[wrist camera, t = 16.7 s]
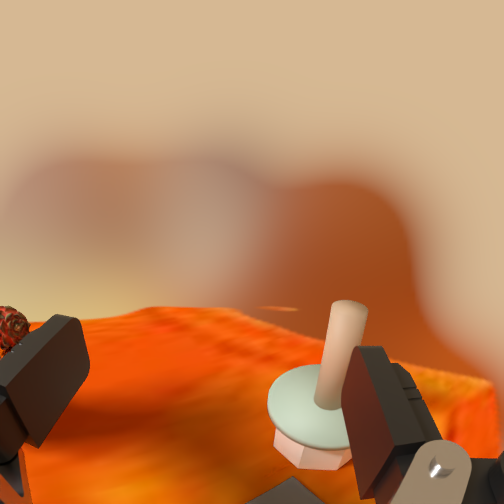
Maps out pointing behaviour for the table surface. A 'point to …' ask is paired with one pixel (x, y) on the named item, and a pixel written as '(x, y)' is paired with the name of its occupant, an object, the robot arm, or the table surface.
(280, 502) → the mat
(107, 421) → the table surface
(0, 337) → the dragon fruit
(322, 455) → the bowl
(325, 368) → the lid
